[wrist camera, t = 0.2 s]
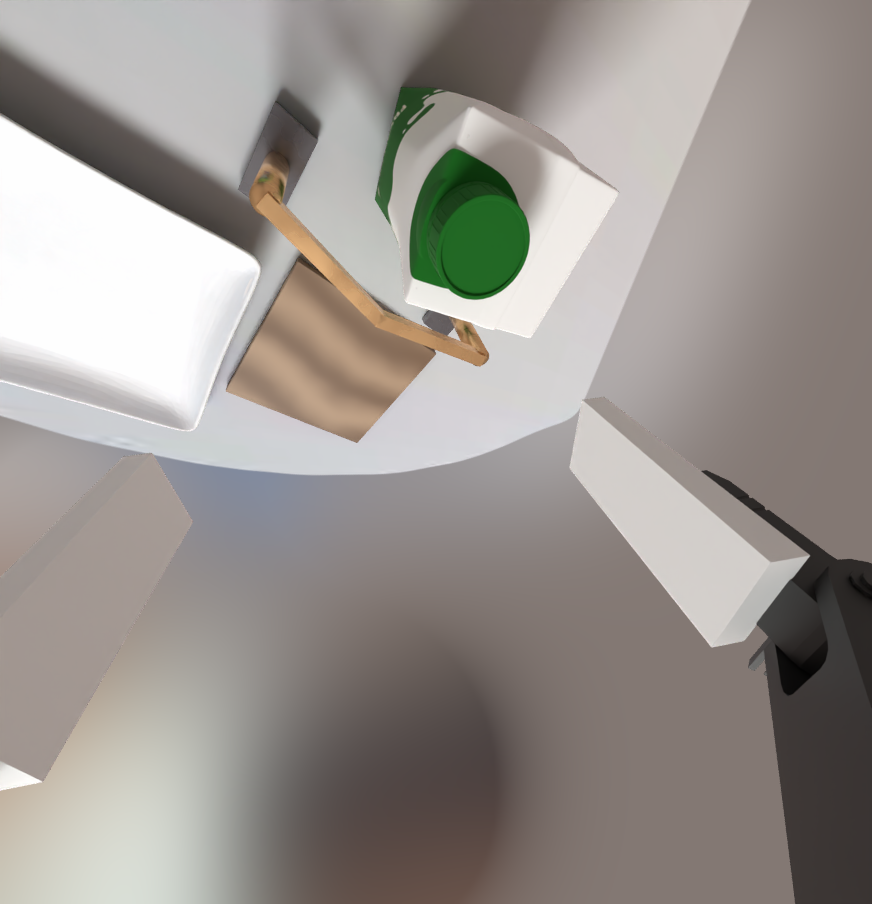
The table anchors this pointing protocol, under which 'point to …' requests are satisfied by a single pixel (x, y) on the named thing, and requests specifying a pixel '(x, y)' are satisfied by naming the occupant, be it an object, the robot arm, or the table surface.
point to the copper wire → (269, 193)
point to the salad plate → (110, 289)
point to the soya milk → (484, 209)
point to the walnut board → (325, 359)
